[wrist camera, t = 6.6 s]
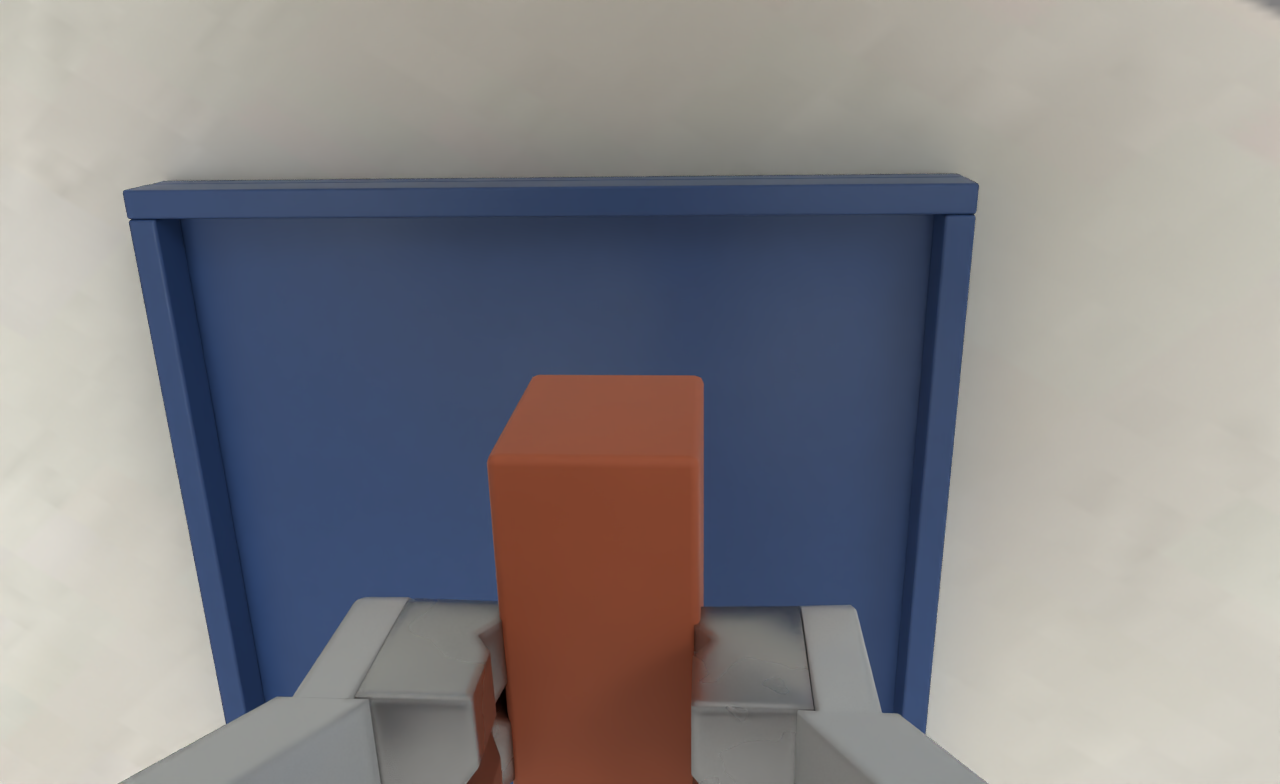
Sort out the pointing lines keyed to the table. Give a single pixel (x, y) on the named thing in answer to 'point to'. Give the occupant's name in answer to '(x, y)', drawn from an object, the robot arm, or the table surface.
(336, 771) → the robot arm
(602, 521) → the rust stepped bar
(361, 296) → the blue tray
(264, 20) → the table surface
